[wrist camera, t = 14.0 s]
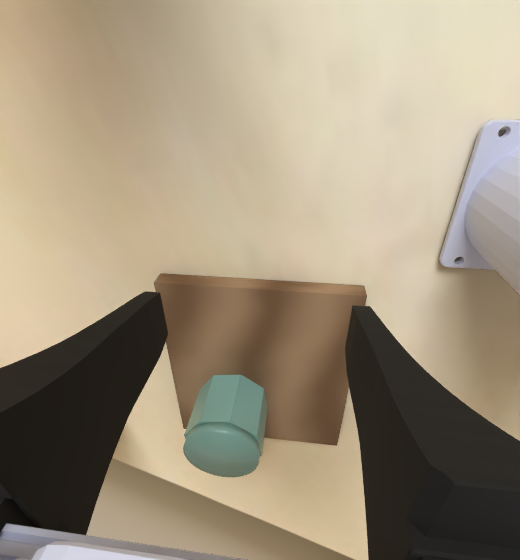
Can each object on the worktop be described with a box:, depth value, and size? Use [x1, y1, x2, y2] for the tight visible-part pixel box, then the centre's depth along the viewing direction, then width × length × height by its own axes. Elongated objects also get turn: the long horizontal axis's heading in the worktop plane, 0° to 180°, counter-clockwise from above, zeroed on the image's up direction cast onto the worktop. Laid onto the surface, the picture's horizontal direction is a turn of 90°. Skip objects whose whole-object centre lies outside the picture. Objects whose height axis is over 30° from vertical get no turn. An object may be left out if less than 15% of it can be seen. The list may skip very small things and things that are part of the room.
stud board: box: [154, 274, 367, 445], centre depth 25 cm, size 14×16×4 cm
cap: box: [183, 375, 268, 477], centre depth 25 cm, size 5×5×5 cm
